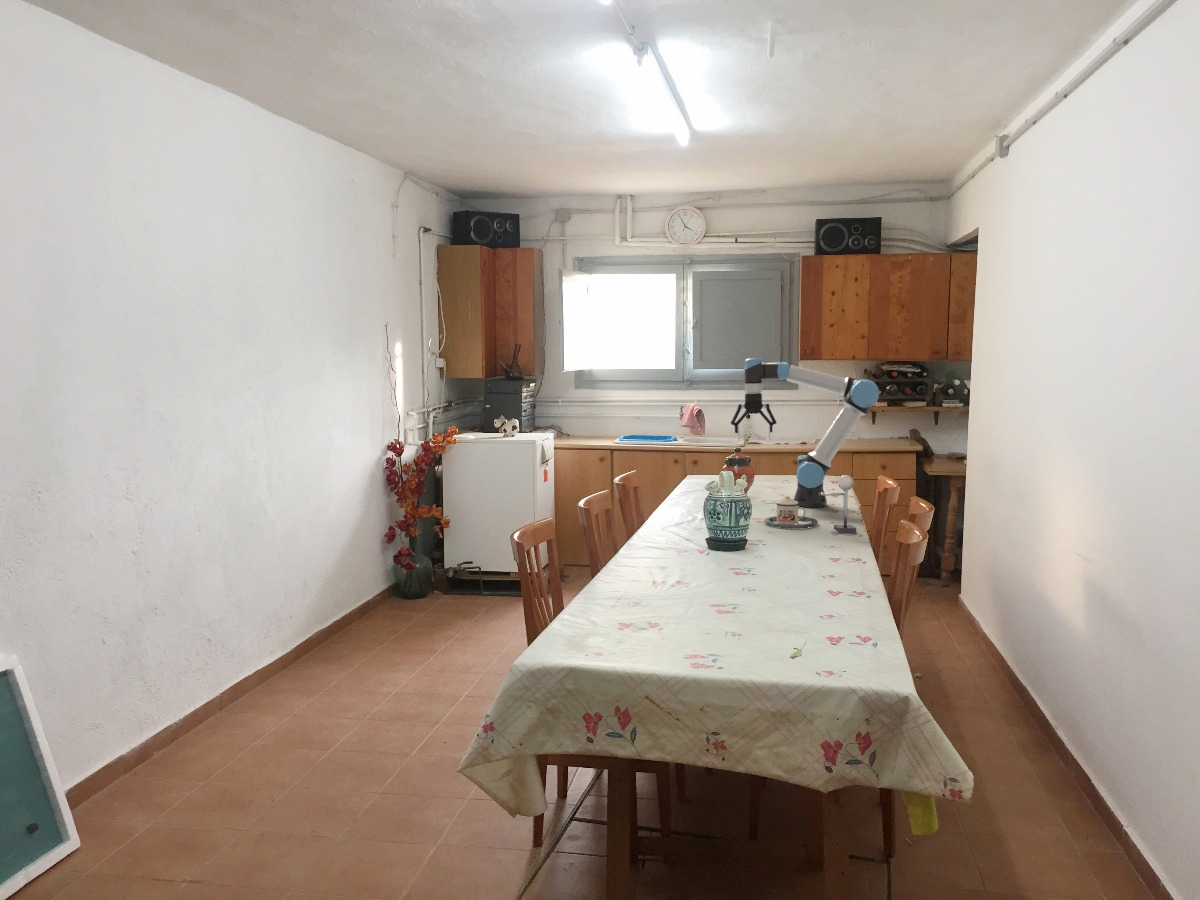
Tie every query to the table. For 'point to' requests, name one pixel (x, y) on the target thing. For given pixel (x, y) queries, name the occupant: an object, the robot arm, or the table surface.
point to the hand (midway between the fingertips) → (753, 440)
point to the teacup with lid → (788, 511)
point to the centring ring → (814, 523)
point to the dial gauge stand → (845, 484)
